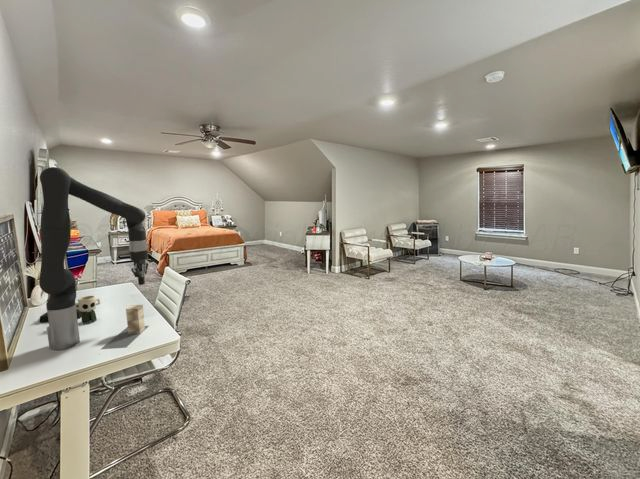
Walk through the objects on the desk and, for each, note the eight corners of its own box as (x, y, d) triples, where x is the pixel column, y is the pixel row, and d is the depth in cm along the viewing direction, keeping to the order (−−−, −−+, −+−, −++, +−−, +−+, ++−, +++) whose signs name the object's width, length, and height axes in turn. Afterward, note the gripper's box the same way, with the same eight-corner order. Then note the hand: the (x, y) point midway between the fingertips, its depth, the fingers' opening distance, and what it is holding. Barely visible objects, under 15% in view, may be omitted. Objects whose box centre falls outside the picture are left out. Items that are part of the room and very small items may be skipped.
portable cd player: (56, 312, 168) (55, 305, 167) (92, 309, 173) (91, 302, 172) (39, 324, 152) (38, 316, 152) (79, 319, 157) (78, 312, 157)
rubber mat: (100, 351, 123) (100, 349, 123) (127, 328, 144) (127, 327, 144) (126, 349, 124) (126, 347, 124) (149, 327, 146) (149, 325, 146)
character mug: (77, 327, 147) (74, 301, 145) (74, 323, 151) (71, 299, 149) (104, 320, 155) (101, 296, 153) (99, 317, 160) (97, 293, 158)
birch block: (128, 334, 137) (125, 309, 135) (133, 329, 141) (131, 305, 140) (140, 333, 137) (137, 308, 136) (144, 328, 142) (142, 304, 141)
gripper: (136, 247, 149) (139, 281, 152) (123, 252, 136) (126, 288, 139) (152, 247, 150) (155, 280, 153) (140, 251, 137) (143, 287, 139)
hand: (141, 284), depth 146 cm, fingers closed
